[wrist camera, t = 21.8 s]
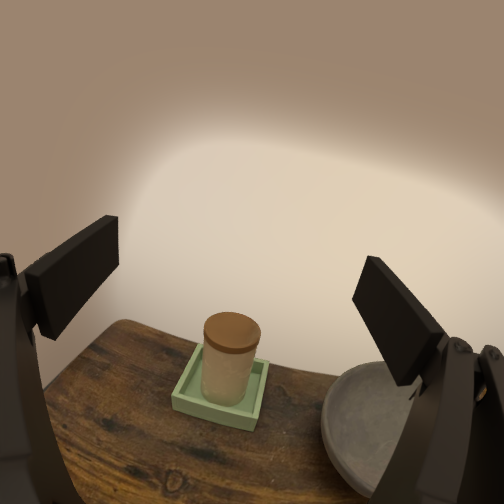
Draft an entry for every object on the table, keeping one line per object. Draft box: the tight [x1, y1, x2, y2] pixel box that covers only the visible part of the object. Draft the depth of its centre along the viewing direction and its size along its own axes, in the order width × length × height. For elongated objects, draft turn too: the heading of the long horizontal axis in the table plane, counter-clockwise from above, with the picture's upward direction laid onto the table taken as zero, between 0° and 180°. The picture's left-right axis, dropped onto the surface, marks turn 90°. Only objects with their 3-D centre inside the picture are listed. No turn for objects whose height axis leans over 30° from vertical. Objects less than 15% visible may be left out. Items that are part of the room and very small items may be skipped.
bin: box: [172, 343, 269, 432], centre depth 33 cm, size 10×10×3 cm
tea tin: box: [201, 312, 261, 407], centre depth 31 cm, size 6×6×11 cm
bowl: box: [321, 361, 422, 499], centre depth 24 cm, size 21×21×8 cm
